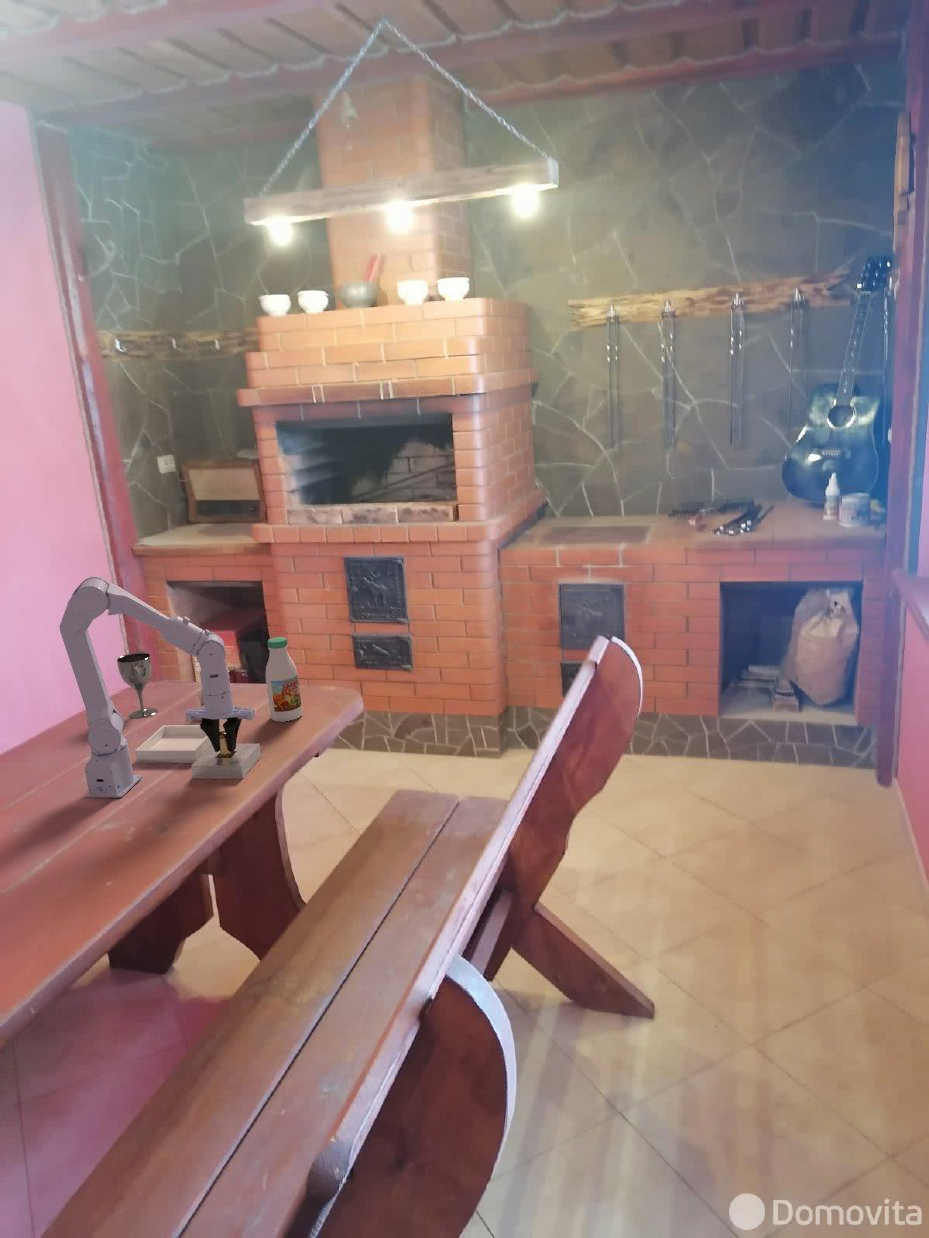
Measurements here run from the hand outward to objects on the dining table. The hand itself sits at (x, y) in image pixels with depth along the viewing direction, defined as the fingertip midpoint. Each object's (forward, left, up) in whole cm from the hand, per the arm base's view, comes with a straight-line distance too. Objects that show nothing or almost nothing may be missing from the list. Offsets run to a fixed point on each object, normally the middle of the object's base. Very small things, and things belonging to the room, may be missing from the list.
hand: (225, 750), depth 193 cm
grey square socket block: (0, 0, -4) cm, 4 cm away
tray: (+9, +15, -4) cm, 18 cm away
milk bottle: (+28, -4, -4) cm, 29 cm away
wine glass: (+31, +35, -4) cm, 47 cm away
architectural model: (+31, +17, -5) cm, 36 cm away
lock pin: (0, 0, -4) cm, 4 cm away
